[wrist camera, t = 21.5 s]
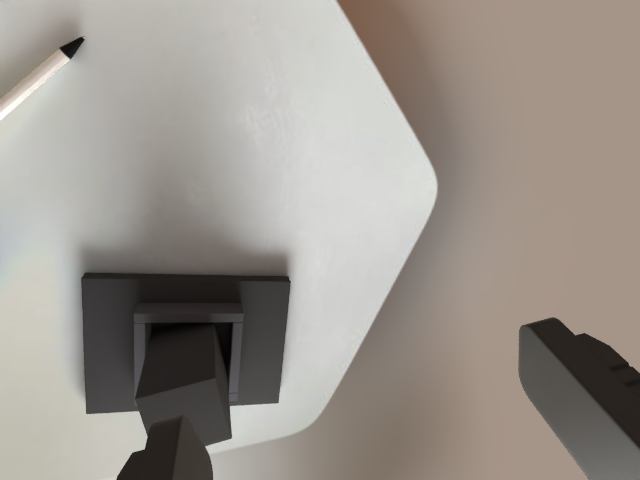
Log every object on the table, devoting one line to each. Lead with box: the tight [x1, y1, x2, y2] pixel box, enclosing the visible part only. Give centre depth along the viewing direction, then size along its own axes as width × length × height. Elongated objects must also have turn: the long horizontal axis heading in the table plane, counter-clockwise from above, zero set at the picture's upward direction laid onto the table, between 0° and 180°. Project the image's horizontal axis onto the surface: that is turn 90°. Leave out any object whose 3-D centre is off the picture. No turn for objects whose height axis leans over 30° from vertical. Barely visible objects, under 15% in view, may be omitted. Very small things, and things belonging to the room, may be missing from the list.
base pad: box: [81, 273, 291, 414], centre depth 36 cm, size 16×12×3 cm
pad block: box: [135, 322, 232, 446], centre depth 33 cm, size 5×5×9 cm
